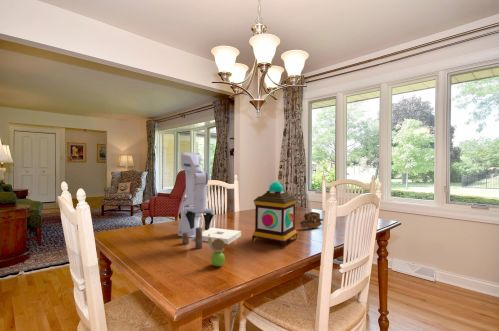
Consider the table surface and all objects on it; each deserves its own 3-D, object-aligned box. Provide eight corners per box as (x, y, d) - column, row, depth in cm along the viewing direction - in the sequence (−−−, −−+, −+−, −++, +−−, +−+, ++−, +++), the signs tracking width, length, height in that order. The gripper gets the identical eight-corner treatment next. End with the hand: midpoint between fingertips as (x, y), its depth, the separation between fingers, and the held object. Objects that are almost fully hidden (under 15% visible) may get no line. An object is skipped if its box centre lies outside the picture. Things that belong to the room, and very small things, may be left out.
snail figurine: (208, 263, 102) (208, 232, 101) (224, 263, 102) (225, 232, 102) (207, 268, 96) (207, 236, 96) (224, 268, 97) (225, 236, 97)
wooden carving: (304, 231, 152) (304, 213, 152) (299, 229, 156) (299, 212, 156) (324, 227, 160) (325, 211, 160) (319, 226, 164) (319, 210, 164)
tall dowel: (194, 248, 118) (194, 228, 118) (197, 246, 121) (197, 227, 121) (199, 249, 117) (200, 229, 117) (203, 247, 120) (203, 227, 120)
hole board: (195, 239, 131) (195, 234, 131) (211, 232, 146) (211, 227, 146) (228, 244, 125) (228, 239, 125) (241, 235, 140) (241, 231, 140)
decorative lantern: (266, 233, 146) (267, 179, 145) (300, 239, 136) (301, 181, 136) (248, 242, 129) (249, 181, 128) (285, 249, 119) (287, 183, 118)
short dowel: (181, 244, 124) (181, 233, 124) (184, 242, 127) (185, 232, 127) (186, 244, 123) (186, 234, 123) (190, 243, 126) (190, 232, 126)
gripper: (181, 199, 118) (180, 229, 118) (209, 201, 113) (209, 232, 113) (189, 197, 125) (189, 226, 125) (217, 199, 120) (216, 229, 120)
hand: (199, 229), depth 119 cm, fingers open, 7 cm apart
